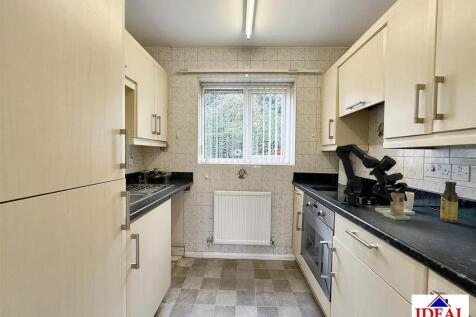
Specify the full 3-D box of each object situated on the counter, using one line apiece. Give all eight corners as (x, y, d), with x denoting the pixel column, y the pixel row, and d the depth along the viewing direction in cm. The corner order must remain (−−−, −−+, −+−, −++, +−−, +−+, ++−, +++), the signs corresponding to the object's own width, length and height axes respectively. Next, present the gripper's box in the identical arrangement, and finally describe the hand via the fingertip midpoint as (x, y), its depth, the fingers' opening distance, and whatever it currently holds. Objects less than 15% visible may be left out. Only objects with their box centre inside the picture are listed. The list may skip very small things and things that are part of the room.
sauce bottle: (439, 218, 121) (441, 180, 120) (456, 221, 117) (458, 181, 116) (440, 221, 116) (442, 181, 115) (457, 224, 112) (459, 182, 111)
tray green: (383, 215, 125) (383, 212, 125) (398, 215, 125) (398, 212, 125) (394, 219, 117) (394, 216, 117) (410, 220, 117) (410, 217, 117)
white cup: (406, 211, 135) (407, 193, 135) (393, 208, 143) (394, 191, 143) (416, 210, 137) (417, 193, 137) (404, 207, 145) (404, 191, 145)
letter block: (389, 215, 122) (391, 192, 122) (395, 215, 123) (396, 192, 123) (397, 217, 118) (398, 193, 118) (403, 217, 119) (404, 193, 119)
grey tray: (390, 210, 135) (390, 208, 135) (403, 211, 136) (403, 208, 136) (400, 214, 127) (400, 211, 127) (415, 214, 128) (415, 212, 128)
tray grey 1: (375, 210, 135) (375, 208, 135) (388, 210, 135) (388, 208, 135) (384, 214, 127) (384, 211, 127) (399, 214, 127) (399, 211, 127)
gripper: (377, 167, 121) (396, 192, 111) (405, 167, 127) (425, 191, 116) (364, 180, 129) (381, 205, 119) (391, 180, 134) (409, 203, 124)
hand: (399, 201), depth 119 cm, fingers open, 9 cm apart
